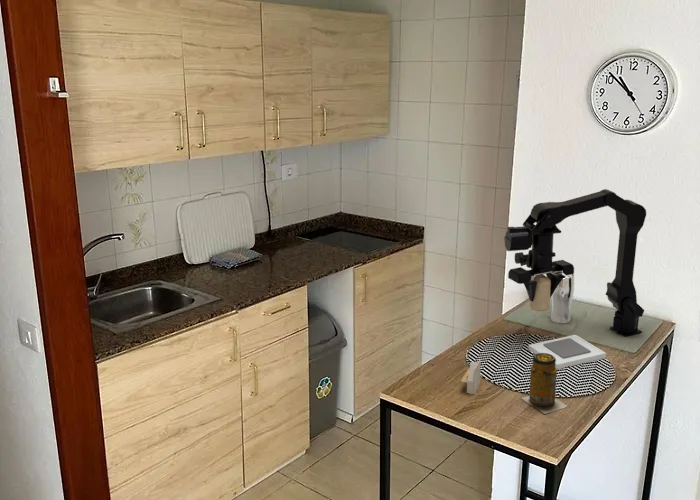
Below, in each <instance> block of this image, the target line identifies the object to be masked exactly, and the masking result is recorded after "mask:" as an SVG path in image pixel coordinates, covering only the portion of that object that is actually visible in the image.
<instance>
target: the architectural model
mask: <svg viewBox="0 0 700 500" xmlns="http://www.w3.org/2000/svg"><path fill="white" fill-rule="evenodd" d="M460 382H461V383H466V394H467V393H469V394H468V395H472V394H473V395H475V394H476V392H477V391H478V389H479V387H480V385H481V359H479V360H478V362H473V361H472V362H470V365H469V367H468V368H467V370H466V372H465V373H464V375H463V377H462V378H461V380H460Z"/></svg>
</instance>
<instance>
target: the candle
mask: <svg viewBox="0 0 700 500" xmlns="http://www.w3.org/2000/svg"><path fill="white" fill-rule="evenodd" d="M534 281H536V282H537V285H536V291H535V296H534V300H533V301H530V300H529V308H530V309H531V310H532V311H535V312H547V311H549V310H550V306H551V305H550V304H551V298H550V288H551V280H550V279H549V278H547V276H546V274H542V275H537V276H534Z"/></svg>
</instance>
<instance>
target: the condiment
mask: <svg viewBox="0 0 700 500" xmlns="http://www.w3.org/2000/svg"><path fill="white" fill-rule="evenodd" d="M555 362H556V359H555V357H554V356H553V355H551V354H548V353H538V354H536V355H535V354H534V355H533V356H532V365H531V366H530V376H529V377H530V379H529V381H530V382H529V395H526V396H523V397H521V398H520V399H521V400H523V401H524V402H526V403H527V404H528V405H530V406H532V407H533V408H534V409H536V410H537V411H539V412H541V413H542V414H544V415H545V414H550V413H553V412H557V411H560V410H562V409H565V408H567V407H568V405H567V404H565V403H564V402H562V401H560V400H559V399H558V398H556V387H557V374H558V371H557V370H558V369H556V367H555V366H556V363H555Z"/></svg>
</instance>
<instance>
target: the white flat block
mask: <svg viewBox="0 0 700 500" xmlns="http://www.w3.org/2000/svg"><path fill="white" fill-rule="evenodd" d="M528 351H529V352H531V353H532V352H533V353H532V354H534V355H535V354H538V353H548V354H551V355H553V356H554V357H555V359H556V362H555V363H556V366H555V367H556V369H557V370H560V369H565V367H566V368H569V367H568V366H570V367H573V365H574V366H577V365H582V363H583V364H587V363H590V362H594V361H595V362H596V361H599V360H604V359H606V357H607V353H606V352H605V351H603V350H602V349H600V348H599V347H597V346H595V345H593V344H592V343H590V342H589V341H587V340H585V339H583V338H582V337H580V336H578V335H576V334H573V335H568V336H563V337H558V338H555V339H550V340H545V341H541V342H535V343H532V344H528ZM586 362H587V363H586Z"/></svg>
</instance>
